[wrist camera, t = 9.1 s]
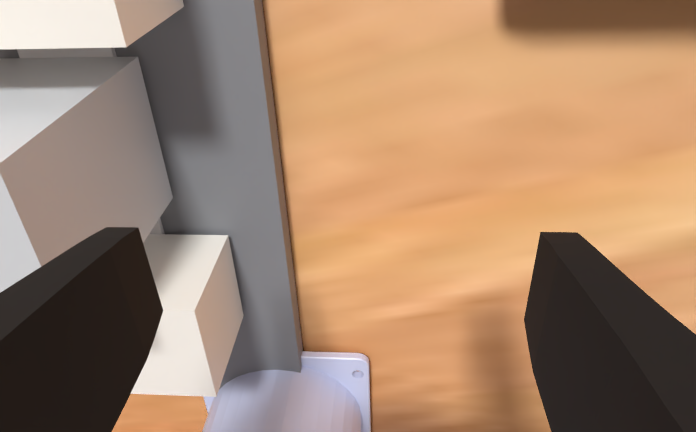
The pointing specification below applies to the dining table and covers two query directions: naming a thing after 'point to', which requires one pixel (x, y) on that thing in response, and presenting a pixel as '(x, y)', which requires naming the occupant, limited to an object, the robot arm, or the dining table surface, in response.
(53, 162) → the block
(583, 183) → the dining table surface
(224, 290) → the mounted modules
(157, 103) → the rail board
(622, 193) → the dining table surface
